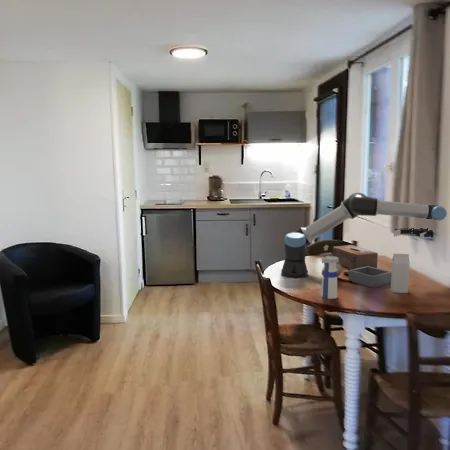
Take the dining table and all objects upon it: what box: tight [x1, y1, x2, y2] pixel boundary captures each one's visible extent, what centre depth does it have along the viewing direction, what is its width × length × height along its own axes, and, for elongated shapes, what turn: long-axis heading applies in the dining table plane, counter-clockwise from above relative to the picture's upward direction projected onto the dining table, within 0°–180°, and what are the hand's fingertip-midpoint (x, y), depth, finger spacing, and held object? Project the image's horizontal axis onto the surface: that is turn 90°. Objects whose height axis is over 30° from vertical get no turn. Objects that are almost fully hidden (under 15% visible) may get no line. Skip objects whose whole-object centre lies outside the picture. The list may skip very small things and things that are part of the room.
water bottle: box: [320, 244, 339, 300], centre depth 220 cm, size 8×9×25 cm
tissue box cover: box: [332, 244, 379, 270], centre depth 284 cm, size 26×14×10 cm, turn 19°
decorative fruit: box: [336, 262, 343, 278], centre depth 254 cm, size 9×8×10 cm
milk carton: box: [390, 253, 411, 294], centre depth 228 cm, size 7×7×19 cm
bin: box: [347, 266, 392, 289], centre depth 246 cm, size 16×16×6 cm
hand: (407, 235), depth 236 cm, fingers open, 13 cm apart
